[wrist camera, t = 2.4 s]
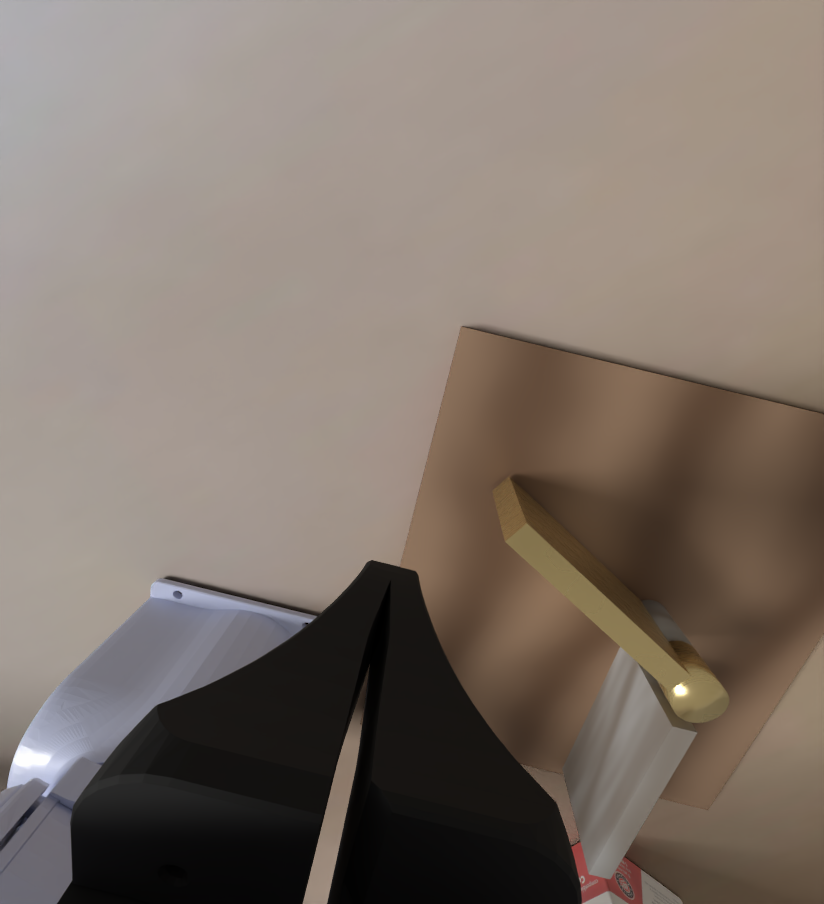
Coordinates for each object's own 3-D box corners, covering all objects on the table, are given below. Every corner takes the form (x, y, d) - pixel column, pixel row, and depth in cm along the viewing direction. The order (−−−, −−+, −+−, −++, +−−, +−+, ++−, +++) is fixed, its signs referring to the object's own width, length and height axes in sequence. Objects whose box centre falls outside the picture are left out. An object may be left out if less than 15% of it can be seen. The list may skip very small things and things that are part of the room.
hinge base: (362, 711, 25) (340, 818, 20) (461, 326, 18) (466, 331, 13) (699, 795, 25) (767, 924, 20) (926, 438, 18) (1124, 490, 13)
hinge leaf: (644, 646, 21) (694, 731, 17) (484, 498, 19) (494, 550, 15) (679, 622, 20) (740, 703, 16) (517, 467, 19) (537, 513, 15)
